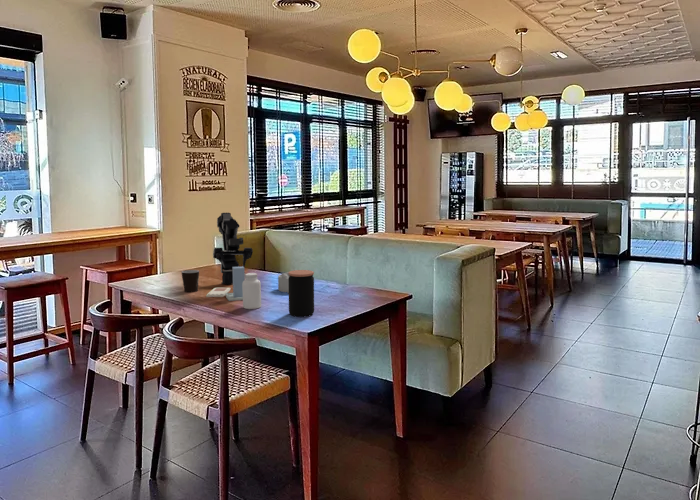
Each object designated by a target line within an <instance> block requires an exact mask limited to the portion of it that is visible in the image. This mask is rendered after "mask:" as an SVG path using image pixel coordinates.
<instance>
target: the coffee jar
mask: <svg viewBox="0 0 700 500" xmlns="http://www.w3.org/2000/svg"><path fill="white" fill-rule="evenodd" d="M287 272H288V274H289V276H290V277H289V278H288V283H289V293H288V312H289V315H290V316H292V317H295V316H296V317H297V318H304V316H306V317H310V316H309V315H311V316H313V314H314V312H315V277H314V275H315V272H314V271H313V270H310V269H307V270H306V269H297V270H295V269H294V270H290V271H287Z"/></svg>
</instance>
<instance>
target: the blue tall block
mask: <svg viewBox="0 0 700 500" xmlns="http://www.w3.org/2000/svg"><path fill="white" fill-rule="evenodd" d="M232 270H233V284H232V293H233V296H234V298H236V297H243V290H242V283H243V281H244V280H246V279H245V274H246V273H245V267H243V265H242V266H238V267H232Z"/></svg>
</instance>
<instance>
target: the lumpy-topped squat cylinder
mask: <svg viewBox="0 0 700 500" xmlns="http://www.w3.org/2000/svg"><path fill="white" fill-rule="evenodd" d="M288 272H289V271H287V272H285V273H284V272H283V273H281V274H279V275H278V277H277V282H278V283H277V287H278V289H277V290H278V291H279V292H282V293H286V292H287V294H289V283H288V278H289V277H290V276H289V274H288Z"/></svg>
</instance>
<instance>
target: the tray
mask: <svg viewBox="0 0 700 500" xmlns="http://www.w3.org/2000/svg"><path fill="white" fill-rule="evenodd" d="M224 297H226V300H227V301H228V302H232V301H243V297H236V298H234V296H233V292H228V293H225V296H224Z"/></svg>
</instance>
